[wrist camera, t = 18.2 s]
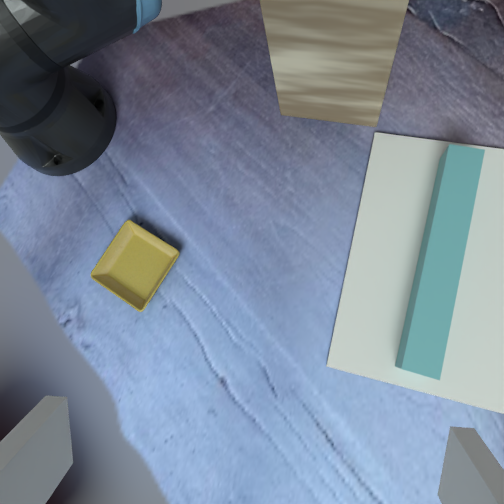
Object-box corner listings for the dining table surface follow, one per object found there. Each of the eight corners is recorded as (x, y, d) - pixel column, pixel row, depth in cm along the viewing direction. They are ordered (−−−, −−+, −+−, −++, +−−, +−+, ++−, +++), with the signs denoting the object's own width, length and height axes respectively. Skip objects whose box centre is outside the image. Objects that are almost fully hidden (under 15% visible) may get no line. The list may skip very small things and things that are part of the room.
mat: (506, 414, 38) (509, 415, 38) (326, 365, 42) (326, 366, 42) (539, 156, 43) (542, 154, 42) (374, 134, 47) (375, 132, 46)
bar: (429, 376, 40) (439, 380, 36) (394, 366, 40) (401, 369, 37) (472, 164, 43) (485, 149, 40) (439, 158, 44) (449, 143, 41)
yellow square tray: (186, 255, 48) (181, 252, 46) (148, 314, 48) (140, 313, 46) (135, 222, 51) (127, 217, 49) (97, 278, 50) (88, 276, 48)
